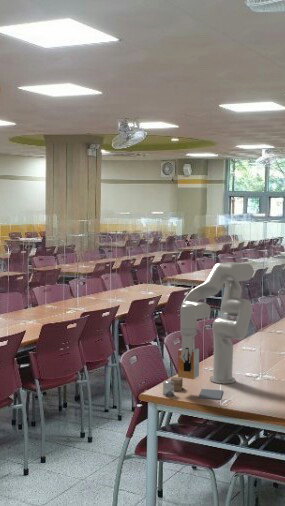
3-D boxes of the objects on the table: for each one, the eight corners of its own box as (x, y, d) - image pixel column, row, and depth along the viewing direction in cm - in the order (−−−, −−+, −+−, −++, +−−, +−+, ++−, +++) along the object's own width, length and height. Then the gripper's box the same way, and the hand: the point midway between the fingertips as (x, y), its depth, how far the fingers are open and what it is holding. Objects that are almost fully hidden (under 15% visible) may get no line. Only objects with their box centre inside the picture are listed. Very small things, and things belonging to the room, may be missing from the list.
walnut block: (172, 387, 311) (172, 376, 311) (182, 388, 310) (182, 377, 310) (170, 389, 306) (170, 379, 306) (180, 390, 305) (181, 380, 305)
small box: (177, 377, 299) (177, 349, 298) (183, 374, 305) (183, 346, 304) (193, 379, 296) (193, 351, 294) (199, 376, 301) (199, 348, 300)
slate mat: (201, 390, 307) (201, 388, 307) (223, 391, 305) (223, 390, 304) (198, 398, 293) (198, 396, 293) (220, 399, 291) (220, 398, 291)
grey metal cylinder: (163, 392, 301) (164, 380, 300) (174, 393, 300) (174, 380, 299) (162, 395, 296) (162, 382, 295) (172, 396, 295) (173, 383, 294)
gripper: (183, 327, 308) (183, 363, 309) (177, 334, 291) (177, 373, 292) (199, 327, 306) (198, 364, 308) (194, 335, 289) (194, 374, 291)
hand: (188, 368), depth 300 cm, fingers closed on small box, 7 cm apart
